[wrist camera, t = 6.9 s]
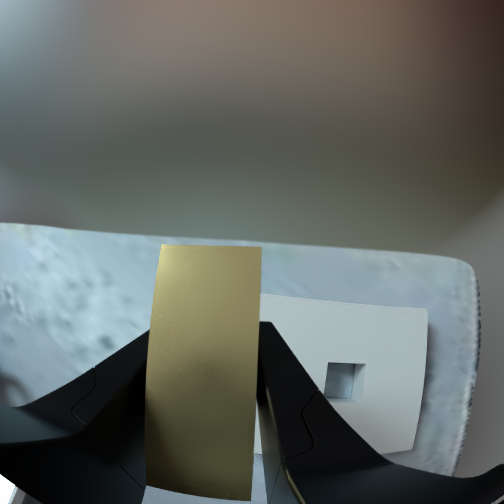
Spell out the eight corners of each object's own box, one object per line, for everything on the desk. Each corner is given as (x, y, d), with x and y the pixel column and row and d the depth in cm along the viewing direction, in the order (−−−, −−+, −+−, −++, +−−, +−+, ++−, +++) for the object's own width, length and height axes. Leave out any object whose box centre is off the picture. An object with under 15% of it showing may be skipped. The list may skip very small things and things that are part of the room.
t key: (256, 412, 15) (251, 501, 4) (218, 409, 15) (146, 485, 4) (260, 321, 17) (261, 247, 6) (223, 319, 18) (161, 244, 6)
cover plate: (398, 443, 17) (411, 449, 15) (238, 441, 18) (236, 450, 16) (413, 314, 21) (427, 308, 19) (259, 300, 22) (259, 293, 20)
